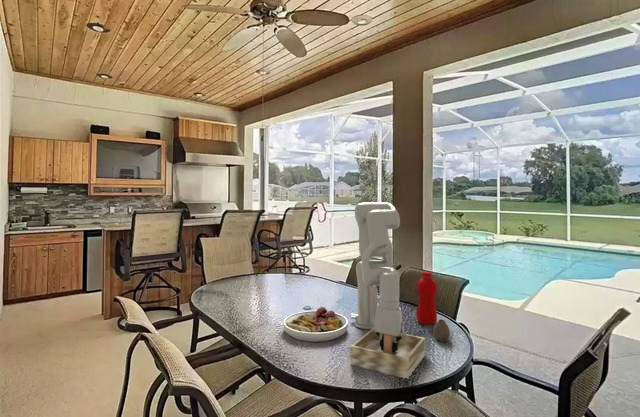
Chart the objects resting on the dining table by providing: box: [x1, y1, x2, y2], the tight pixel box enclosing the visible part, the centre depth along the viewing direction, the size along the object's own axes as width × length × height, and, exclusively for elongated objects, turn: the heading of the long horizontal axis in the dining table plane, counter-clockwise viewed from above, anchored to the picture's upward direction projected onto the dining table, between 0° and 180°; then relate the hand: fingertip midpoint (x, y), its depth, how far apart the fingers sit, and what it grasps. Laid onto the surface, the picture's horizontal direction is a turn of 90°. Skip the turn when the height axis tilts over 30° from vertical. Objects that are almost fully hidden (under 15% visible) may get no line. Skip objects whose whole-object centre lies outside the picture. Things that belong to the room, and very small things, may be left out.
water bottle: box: [416, 271, 438, 325], centre depth 187 cm, size 9×11×25 cm
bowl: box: [283, 306, 349, 343], centre depth 175 cm, size 30×30×8 cm
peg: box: [384, 334, 394, 355], centre depth 145 cm, size 4×4×10 cm
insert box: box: [350, 329, 426, 380], centre depth 145 cm, size 22×22×7 cm
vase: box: [432, 318, 451, 343], centre depth 164 cm, size 7×7×9 cm
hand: (388, 350), depth 145 cm, fingers closed on peg, 3 cm apart
